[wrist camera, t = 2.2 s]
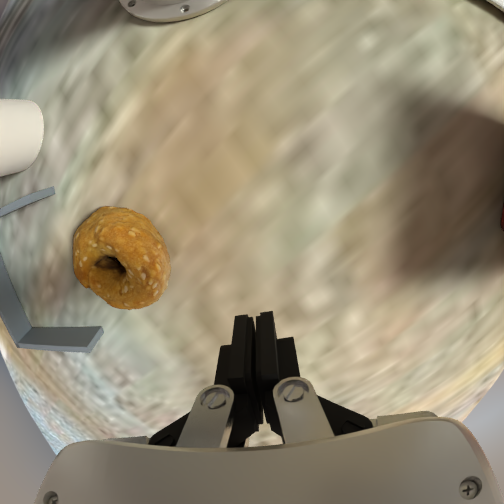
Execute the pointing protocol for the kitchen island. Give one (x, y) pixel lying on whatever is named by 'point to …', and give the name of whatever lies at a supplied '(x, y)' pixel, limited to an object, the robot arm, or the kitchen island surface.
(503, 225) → the plant pot
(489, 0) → the square plate
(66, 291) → the kitchen island surface
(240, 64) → the kitchen island surface
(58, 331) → the box
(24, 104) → the cup
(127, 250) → the bagel
